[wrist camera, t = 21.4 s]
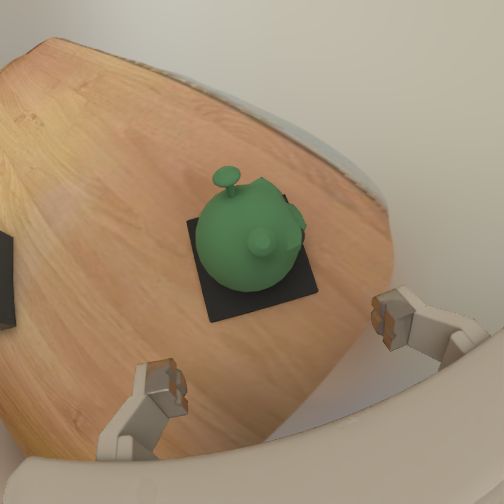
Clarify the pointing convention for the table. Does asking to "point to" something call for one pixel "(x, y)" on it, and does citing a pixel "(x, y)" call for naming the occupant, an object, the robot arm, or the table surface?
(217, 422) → the table surface
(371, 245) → the table surface
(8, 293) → the crate
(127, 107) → the table surface
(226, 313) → the mat
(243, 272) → the alien toy
